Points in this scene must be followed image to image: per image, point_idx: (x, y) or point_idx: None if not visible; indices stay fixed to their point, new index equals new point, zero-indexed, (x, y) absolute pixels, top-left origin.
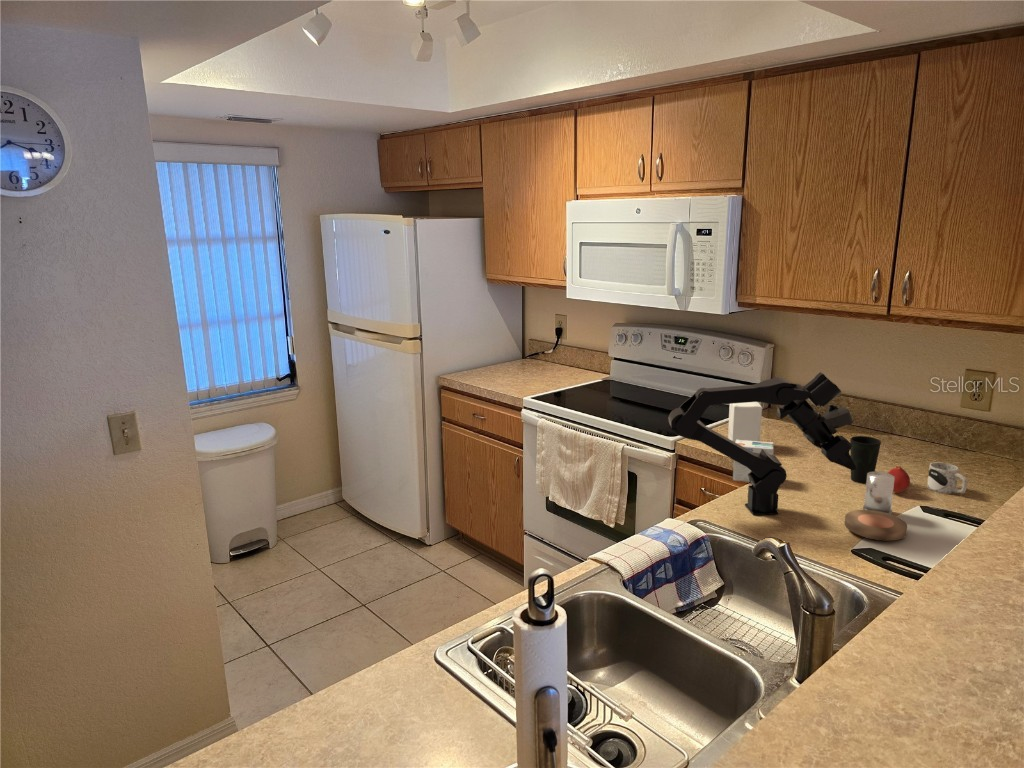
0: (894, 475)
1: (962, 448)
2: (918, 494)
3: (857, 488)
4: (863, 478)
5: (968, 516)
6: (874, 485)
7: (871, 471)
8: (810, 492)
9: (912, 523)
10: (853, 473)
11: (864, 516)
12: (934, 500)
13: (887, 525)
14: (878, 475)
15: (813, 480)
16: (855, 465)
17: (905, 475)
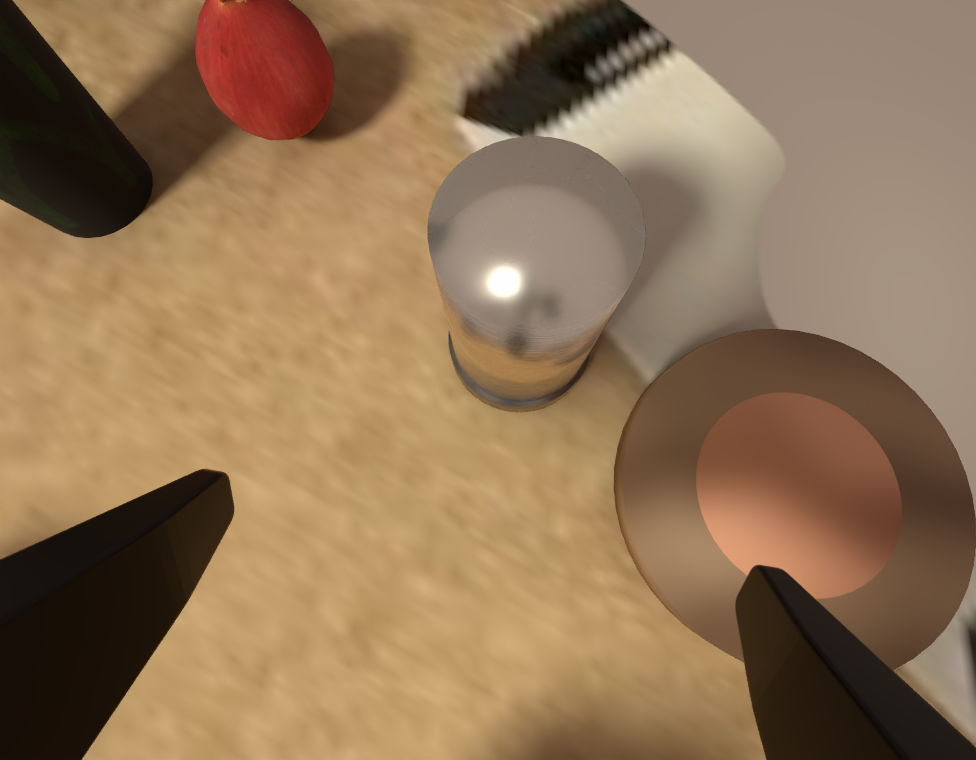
0: (273, 65)
1: None
2: (335, 52)
3: (194, 268)
4: (122, 190)
5: (590, 7)
6: (589, 334)
7: (104, 124)
8: None
9: (653, 253)
10: (57, 213)
11: (734, 524)
12: (411, 31)
13: (864, 458)
14: (529, 243)
15: (7, 446)
16: (827, 611)
17: (296, 14)
